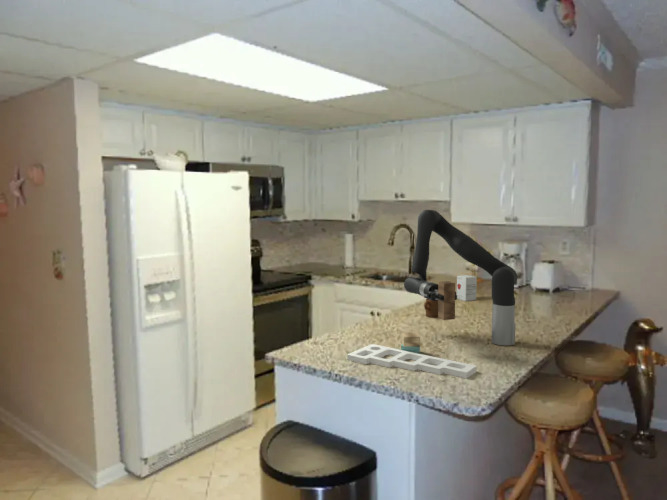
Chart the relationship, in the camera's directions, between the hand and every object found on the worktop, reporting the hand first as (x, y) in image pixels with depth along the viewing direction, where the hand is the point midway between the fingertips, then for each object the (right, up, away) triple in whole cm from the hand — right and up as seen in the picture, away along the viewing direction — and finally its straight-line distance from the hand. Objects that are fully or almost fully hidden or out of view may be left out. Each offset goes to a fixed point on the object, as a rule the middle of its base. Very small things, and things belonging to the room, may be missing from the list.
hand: (449, 297), depth 198 cm
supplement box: (+37, -12, +112) cm, 119 cm away
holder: (-19, -25, -15) cm, 34 cm away
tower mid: (-16, -19, 0) cm, 25 cm away
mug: (+5, -17, +64) cm, 67 cm away
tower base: (-16, -23, 0) cm, 28 cm away
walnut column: (-1, -9, +3) cm, 9 cm away
